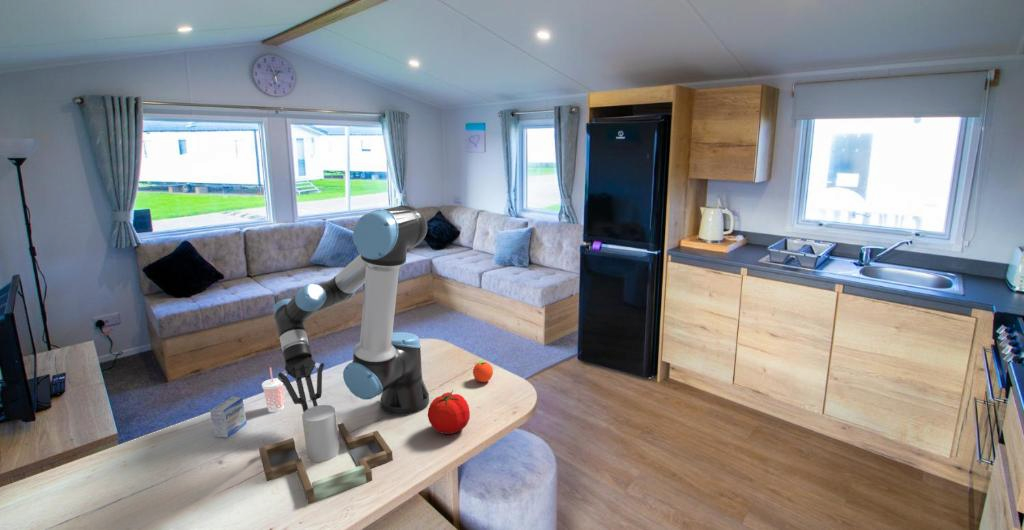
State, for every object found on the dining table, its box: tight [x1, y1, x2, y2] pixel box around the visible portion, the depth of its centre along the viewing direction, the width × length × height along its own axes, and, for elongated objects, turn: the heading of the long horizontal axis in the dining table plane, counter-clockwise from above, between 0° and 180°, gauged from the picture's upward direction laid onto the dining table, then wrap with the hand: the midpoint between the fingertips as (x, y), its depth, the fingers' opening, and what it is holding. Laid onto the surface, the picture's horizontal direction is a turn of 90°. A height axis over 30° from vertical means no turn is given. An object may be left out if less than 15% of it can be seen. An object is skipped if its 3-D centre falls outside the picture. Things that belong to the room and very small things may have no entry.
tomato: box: [427, 390, 471, 435], centre depth 145 cm, size 12×12×11 cm
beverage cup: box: [261, 366, 285, 413], centre depth 159 cm, size 6×6×14 cm
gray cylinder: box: [301, 404, 340, 463], centre depth 135 cm, size 8×8×12 cm
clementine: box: [472, 360, 494, 383], centre depth 175 cm, size 8×7×7 cm
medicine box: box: [209, 396, 247, 438], centre depth 148 cm, size 8×4×9 cm, turn 168°
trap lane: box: [258, 422, 394, 504], centre depth 132 cm, size 29×26×4 cm
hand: (314, 423), depth 142 cm, fingers closed
